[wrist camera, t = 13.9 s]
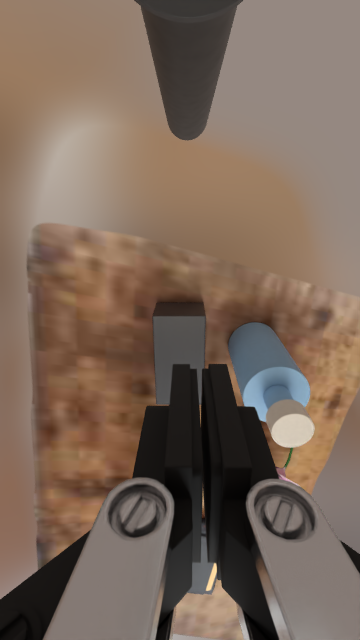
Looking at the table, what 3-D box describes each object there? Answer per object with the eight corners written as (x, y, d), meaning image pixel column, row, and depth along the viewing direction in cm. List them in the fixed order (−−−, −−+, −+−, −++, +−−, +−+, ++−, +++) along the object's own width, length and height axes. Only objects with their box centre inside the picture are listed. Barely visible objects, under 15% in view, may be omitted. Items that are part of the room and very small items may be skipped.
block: (156, 302, 39) (152, 316, 34) (203, 302, 39) (205, 315, 34) (159, 382, 43) (156, 404, 39) (201, 382, 43) (203, 404, 39)
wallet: (149, 521, 51) (238, 534, 52) (151, 510, 53) (236, 523, 54) (133, 592, 58) (211, 603, 59) (135, 580, 60) (210, 591, 61)
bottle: (258, 314, 43) (384, 363, 30) (253, 356, 45) (368, 417, 32) (177, 335, 36) (298, 411, 23) (177, 384, 38) (286, 476, 25)
